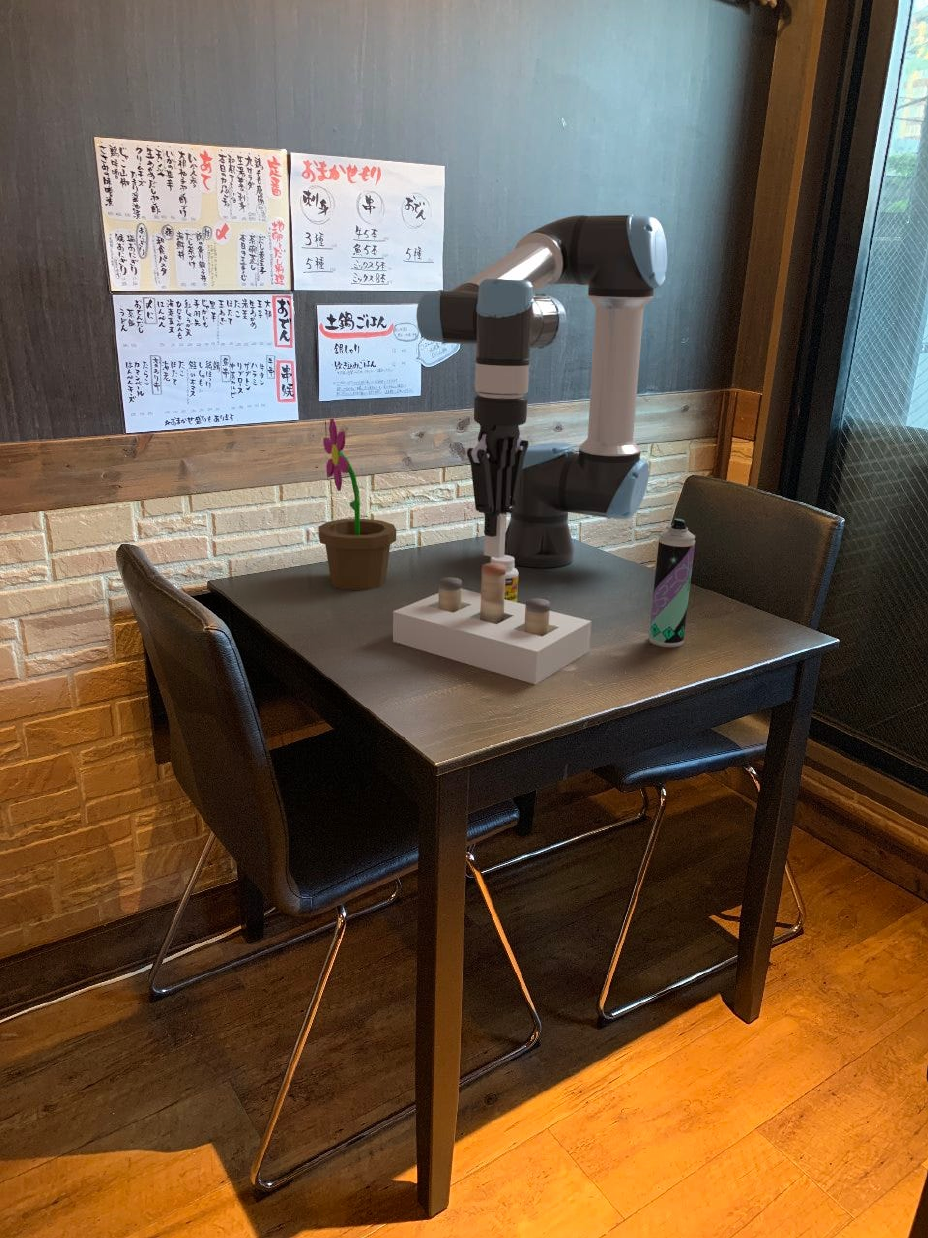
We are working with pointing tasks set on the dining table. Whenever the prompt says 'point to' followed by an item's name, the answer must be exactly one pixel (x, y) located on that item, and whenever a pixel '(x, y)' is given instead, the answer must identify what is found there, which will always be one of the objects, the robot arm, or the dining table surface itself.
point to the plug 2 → (492, 592)
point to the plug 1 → (450, 594)
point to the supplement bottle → (509, 577)
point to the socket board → (492, 637)
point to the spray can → (672, 585)
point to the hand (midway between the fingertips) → (494, 555)
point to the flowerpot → (353, 531)
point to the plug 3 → (537, 616)
